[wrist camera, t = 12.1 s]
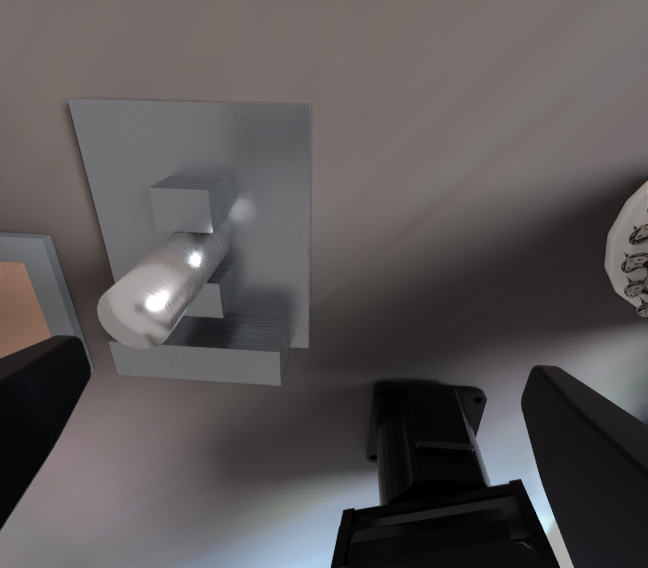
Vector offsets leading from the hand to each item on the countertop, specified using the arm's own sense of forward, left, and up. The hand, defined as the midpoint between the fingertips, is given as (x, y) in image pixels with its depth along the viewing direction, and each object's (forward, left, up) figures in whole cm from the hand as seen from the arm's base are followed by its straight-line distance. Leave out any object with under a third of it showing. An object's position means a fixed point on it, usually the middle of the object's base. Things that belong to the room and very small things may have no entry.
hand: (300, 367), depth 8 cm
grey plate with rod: (-2, +6, -12) cm, 14 cm away
